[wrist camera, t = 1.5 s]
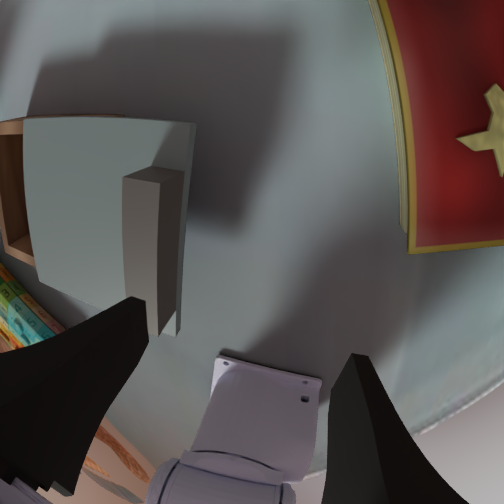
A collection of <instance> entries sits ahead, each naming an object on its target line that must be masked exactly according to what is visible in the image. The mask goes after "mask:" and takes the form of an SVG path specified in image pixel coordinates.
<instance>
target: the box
mask: <svg viewBox="0 0 504 504" xmlns="http://www.w3.org/2000/svg"><path fill="white" fill-rule="evenodd" d="M57 116H110V117H124V115H113V114H63V115H41V116H26V117H21V118H15V119H10V120H6V121H1V122H0V228H1V234H2V239H3V244H4V249H5V253H7V254H9V255H11V256H13V257H15V258H17V259H19V260H21V261H23V262H26V263H28V264H30V265H32V266H34V267H36V264H35V259H34V254H33V249H32V243H31V237H30V230H29V224H28V216H27V208H26V198H25V186H24V169H23V120H24V119H28V118H35V117H57Z"/></svg>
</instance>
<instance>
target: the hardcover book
mask: <svg viewBox="0 0 504 504" xmlns="http://www.w3.org/2000/svg"><path fill="white" fill-rule="evenodd" d="M368 2H369V6H370V9H371V13H372V16H373V20H374V23H375V27H376V31H377V35H378V39H379V43H380V47H381V52H382V56H383V61H384V66H385V71H386V76H387V82H388V87H389V93H390V100H391V107H392V114H393V122H394V130H395V140H396V150H397V163H398V180H399V224H400V225H401V227H402V228H403V230H404V231H405V233H406V234H407V253H408V254H420V253H431V252H442V251H453V250H463V249H474V248H484V247H494V246H504V0H368Z"/></svg>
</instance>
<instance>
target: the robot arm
mask: <svg viewBox="0 0 504 504" xmlns="http://www.w3.org/2000/svg"><path fill="white" fill-rule="evenodd" d="M148 343H149V336H148V325H147V312H146V301H145V300H142V299H139V298H136V297H133V296H130V297H128V298H126V299H124V300H122V301H120V302H119V303H117V304H115V305H113V306H111V307H110V308H108V309H106V310H104V311H102V312H101V313H99V314H97V315H95V316H93V317H91V318H89V319H88V320H86V321H84V322H82V323H80V324H78V325H76V326H74V327H72V328H70V329H68V330H65V331H63V332H61V333H59V334H57V335H55V336H53V337H50V338H48V339H45V340H43V341H40V342H37V343H35V344H32V345H29V346H25V347H22V348H18V349H15V350H11V351H8V352H4V353H0V504H53V503H51V502H50V501H48V500H47V499H46V498H44V497H43V496H41V495H40V494H39V493H37V492H36V490H37V489H38V487H41V488H42V489H44V490H45V491H46V492H47V491H48V490H49V489H50V487H51V488H53V489H54V490H56V491H57V492H59V493H60V494H62V495H63V496H72V495H74V491H75V487H76V484H77V481H78V477H79V474H80V470H81V468H82V465H83V463H84V460H85V457H86V454H87V452H88V450H89V447H90V444H91V443H92V440H93V438H94V436H95V433H96V431H97V429H98V427H99V425H100V423H101V421H102V419H103V417H104V415H105V413H106V412H107V410H108V408H109V407H110V405H111V404H112V402H113V401H114V399H115V398H116V396H117V395H118V393H119V392H120V390H121V389H122V387H123V386H124V384H125V383H126V381H127V380H128V378H129V377H130V375H131V374H132V372H133V371H134V369H135V368H136V366H137V365H138V363H139V361H140V359H141V357H142V355H143V353H144V351H145V349H146V347H147V345H148ZM225 361H226V362H225ZM321 386H322V380H321V379H318V378H314V377H309V376H304V375H299V374H294V373H290V372H285V371H281V370H277V369H272V368H268V367H264V366H260V365H256V364H252V363H248V362H244V361H241V360H237V359H233V358H230V357H226V356H223V355H218V356H217V357H216V359H215V364H214V372H213V379H212V387H211V395H210V401H209V403H208V406H207V409H206V411H205V414H204V416H203V419H202V422H201V424H200V427H199V429H198V432H197V434H196V437H195V439H194V442H193V445H192V447H191V450H190V451H188V450H184V451H183V454H182V456H181V459H177V458H172V459H170V460H168V461H166V462H164V463H163V464H161V466H160V467H159V468H158V469H157V471H156V473H155V475H154V476H153V478H152V480H151V483H150V485H149V488H148V491H147V495H146V500H145V504H296V494H295V491H294V490H293V489H292V488H291V485H290V484H288V483H299V482H301V481H302V479H303V478H304V477H305V475H306V473H307V471H308V469H309V467H310V464H311V461H312V457H313V453H314V448H315V442H316V432H317V419H318V405H319V389H320V388H321ZM321 504H469V503H468V502H467V501H466V500H464V499H463V498H462V497H461V496H460V495H459V494H458V493H456V491H455V490H453V488H452V487H450V486H449V484H448V483H447V482H446V481H445V480H444V479H443V478H442V477H441V476H440V475H439V473H438V472H437V471H436V470H435V469H434V467H433V466H432V465H431V464H430V463H429V461H428V460H427V459H426V457H425V456H424V455H423V453H422V452H421V450H420V449H419V447H418V446H417V445H416V443H415V442H414V440H413V439H412V437H411V436H410V434H409V432H408V431H407V429H406V427H405V426H404V424H403V422H402V421H401V419H400V417H399V415H398V414H397V412H396V410H395V408H394V406H393V404H392V402H391V400H390V399H389V397H388V395H387V393H386V391H385V389H384V387H383V385H382V383H381V381H380V379H379V377H378V375H377V373H376V371H375V369H374V367H373V365H372V363H371V361H370V359H369V357H368V356H365V355H359V354H354V353H351V355H350V357H349V359H348V361H347V363H346V365H345V366H344V368H343V370H342V372H341V374H340V375H339V377H338V379H337V381H336V382H335V384H334V386H333V388H332V389H331V396H330V404H329V412H328V449H327V472H326V481H325V487H324V492H323V498H322V502H321Z"/></svg>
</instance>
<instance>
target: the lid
mask: <svg viewBox="0 0 504 504" xmlns="http://www.w3.org/2000/svg"><path fill="white" fill-rule="evenodd" d="M196 130H197V123H190V122H181V121H172V120H161V119H148V118H133V117H110V116H57V117H35V118H28V119H24V120H23V169H24V186H25V198H26V208H27V216H28V224H29V230H30V237H31V243H32V249H33V254H34V259H35V264H36V269H37V273H38V278H39V281H40V282H42V283H44V284H46V285H48V286H50V287H52V288H54V289H56V290H58V291H60V292H63V293H65V294H67V295H69V296H71V297H74V298H76V299H78V300H80V301H83V302H85V303H87V304H90V305H92V306H94V307H97V308H99V309H102V310H106V309H108V308H110V307H111V306H113V305H115V304H117V303H119V302H120V301H122V300H124V299H126V298H128V297H130V296H133V297H136V298H139V299H142V300H145V301H146V312H147V325H148V333H149V334H152V335H155V336H158V337H159V335H160V333H161V332H162V333H165V334H168V335H171V336H174V337H176V336H177V334H178V332H179V331H180V324H181V296H182V275H183V258H184V244H185V231H186V219H187V208H188V197H189V187H190V178H191V169H192V161H193V153H194V145H195V137H196Z"/></svg>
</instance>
